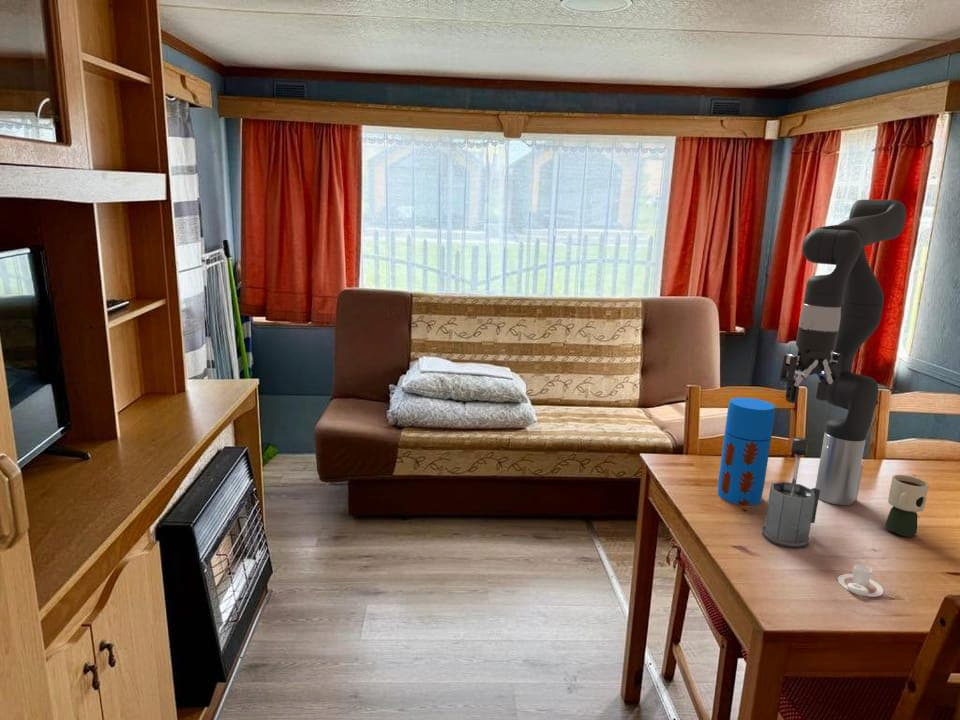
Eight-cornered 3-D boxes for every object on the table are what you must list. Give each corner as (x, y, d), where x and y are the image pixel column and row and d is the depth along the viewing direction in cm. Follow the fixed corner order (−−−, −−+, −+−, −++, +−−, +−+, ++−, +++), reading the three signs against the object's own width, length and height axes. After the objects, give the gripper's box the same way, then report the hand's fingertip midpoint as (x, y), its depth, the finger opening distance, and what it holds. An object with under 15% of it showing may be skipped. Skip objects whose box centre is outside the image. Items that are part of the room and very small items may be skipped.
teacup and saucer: (861, 603, 125) (865, 583, 124) (825, 581, 132) (828, 562, 131) (892, 594, 129) (896, 575, 128) (855, 573, 136) (858, 555, 135)
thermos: (765, 508, 163) (780, 412, 158) (720, 502, 165) (733, 407, 160) (756, 490, 174) (770, 399, 168) (714, 485, 176) (726, 395, 170)
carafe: (793, 524, 156) (801, 477, 153) (827, 543, 147) (836, 494, 144) (752, 531, 151) (759, 484, 148) (785, 551, 142) (793, 501, 140)
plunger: (790, 493, 151) (800, 433, 147) (814, 506, 145) (825, 443, 141) (767, 496, 148) (776, 435, 145) (791, 509, 142) (801, 446, 139)
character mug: (912, 546, 147) (923, 492, 144) (876, 534, 152) (886, 482, 149) (922, 530, 155) (933, 479, 152) (888, 520, 160) (898, 469, 157)
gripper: (828, 322, 144) (816, 394, 147) (778, 323, 139) (767, 398, 142) (859, 329, 137) (845, 404, 141) (807, 330, 132) (794, 408, 135)
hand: (806, 400), depth 141 cm, fingers open, 8 cm apart
